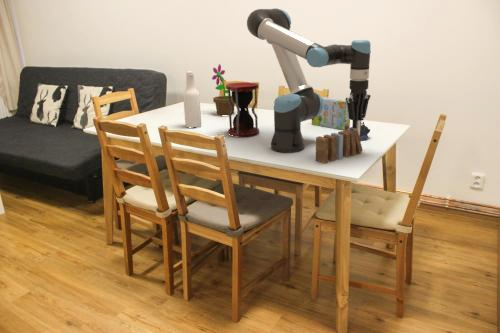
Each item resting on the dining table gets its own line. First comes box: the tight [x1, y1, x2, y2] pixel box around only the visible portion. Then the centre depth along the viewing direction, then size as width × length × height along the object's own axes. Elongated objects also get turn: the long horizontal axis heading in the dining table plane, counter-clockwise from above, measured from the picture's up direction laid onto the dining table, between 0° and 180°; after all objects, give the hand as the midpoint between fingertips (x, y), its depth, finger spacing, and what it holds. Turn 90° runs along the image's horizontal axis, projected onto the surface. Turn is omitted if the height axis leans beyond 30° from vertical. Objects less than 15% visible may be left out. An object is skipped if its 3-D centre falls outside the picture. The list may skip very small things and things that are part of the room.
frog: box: [349, 121, 371, 141], centre depth 210 cm, size 10×12×8 cm
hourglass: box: [225, 81, 260, 138], centre depth 223 cm, size 16×16×25 cm
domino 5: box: [342, 129, 357, 156], centre depth 187 cm, size 2×5×10 cm, turn 35°
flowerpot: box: [211, 64, 236, 116], centre depth 267 cm, size 14×14×30 cm
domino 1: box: [315, 136, 329, 164], centre depth 178 cm, size 2×5×10 cm, turn 35°
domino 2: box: [323, 134, 336, 162], centre depth 180 cm, size 2×5×10 cm, turn 35°
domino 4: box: [337, 130, 350, 158], centre depth 185 cm, size 2×5×10 cm, turn 35°
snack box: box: [311, 96, 351, 131], centre depth 233 cm, size 21×6×15 cm, turn 47°
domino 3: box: [330, 132, 343, 160], centre depth 183 cm, size 2×5×10 cm, turn 35°
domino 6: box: [348, 128, 363, 154], centre depth 188 cm, size 2×5×10 cm, turn 35°
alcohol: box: [182, 70, 202, 129], centre depth 239 cm, size 9×9×30 cm
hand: (356, 135), depth 188 cm, fingers closed
